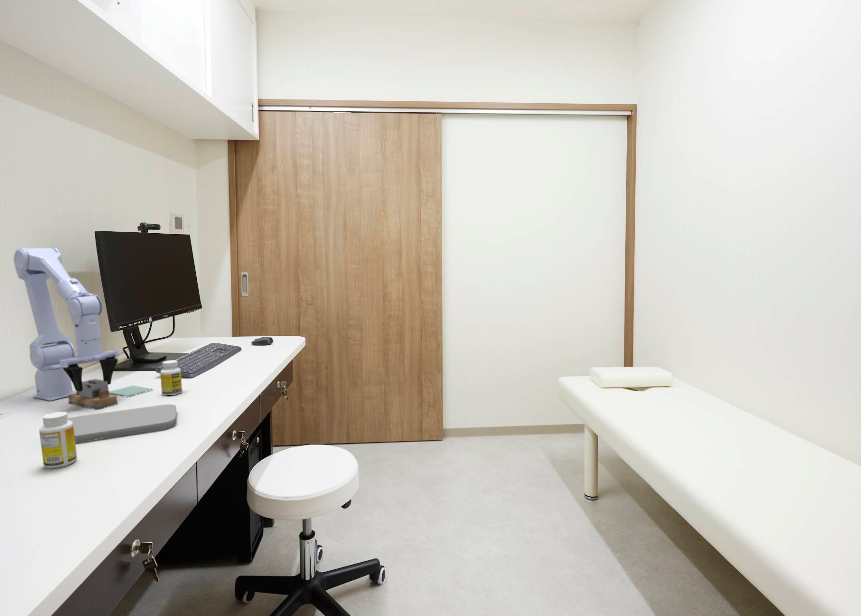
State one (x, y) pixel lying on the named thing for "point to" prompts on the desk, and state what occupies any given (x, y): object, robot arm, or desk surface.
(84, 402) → the plane body
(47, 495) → the desk surface
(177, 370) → the supplement bottle
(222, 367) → the desk surface
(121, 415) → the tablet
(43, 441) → the supplement bottle
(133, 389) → the mat
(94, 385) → the lever cap
